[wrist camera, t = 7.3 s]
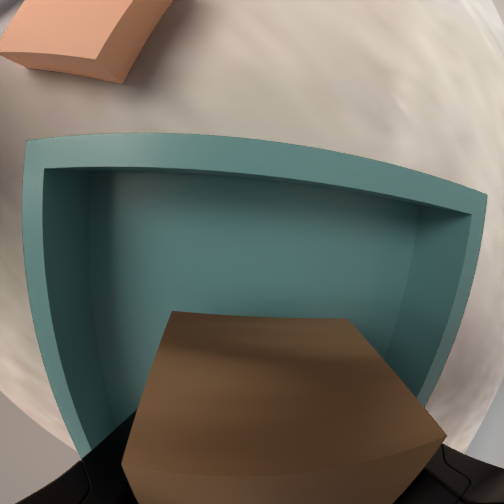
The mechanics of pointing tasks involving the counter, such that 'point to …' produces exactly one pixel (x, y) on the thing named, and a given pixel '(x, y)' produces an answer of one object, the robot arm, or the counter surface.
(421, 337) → the tote
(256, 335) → the walnut block
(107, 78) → the terracotta carton
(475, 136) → the counter surface
